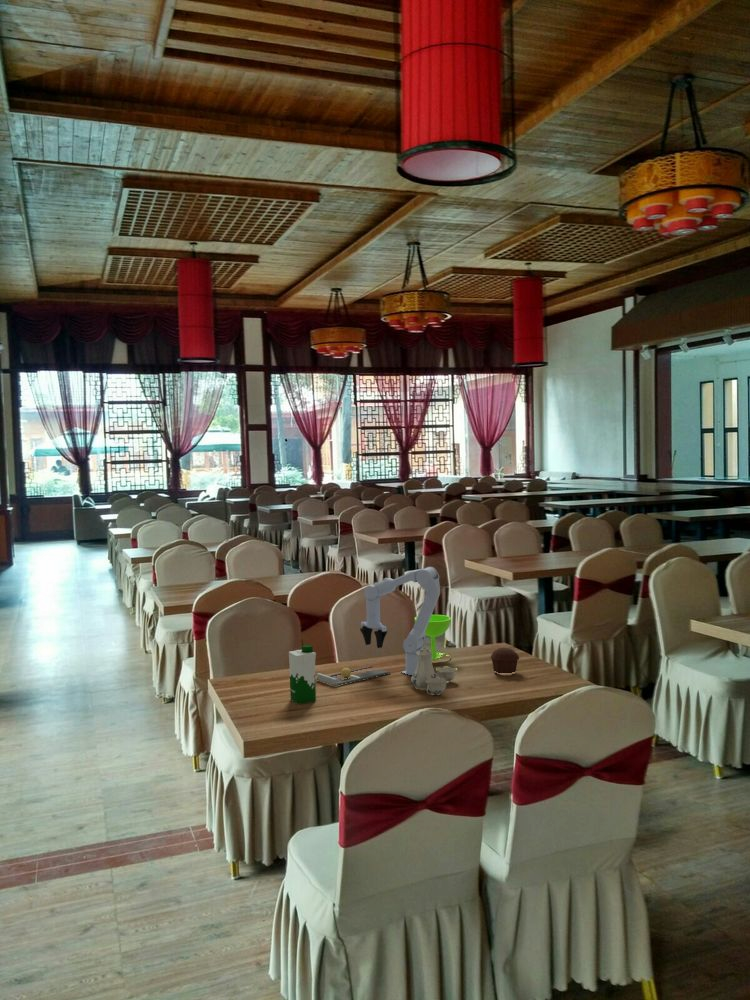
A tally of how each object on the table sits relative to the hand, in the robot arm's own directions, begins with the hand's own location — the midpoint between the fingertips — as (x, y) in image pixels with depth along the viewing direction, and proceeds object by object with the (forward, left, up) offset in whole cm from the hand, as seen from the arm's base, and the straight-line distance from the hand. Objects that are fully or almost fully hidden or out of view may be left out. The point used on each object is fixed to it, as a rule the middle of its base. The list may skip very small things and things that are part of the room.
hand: (373, 646), depth 339 cm
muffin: (-41, -35, -10) cm, 55 cm away
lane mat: (-4, +14, -10) cm, 18 cm away
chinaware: (-36, +1, -10) cm, 38 cm away
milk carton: (-16, +47, -10) cm, 50 cm away
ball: (-4, +18, -7) cm, 20 cm away
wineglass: (-4, -30, -10) cm, 32 cm away
